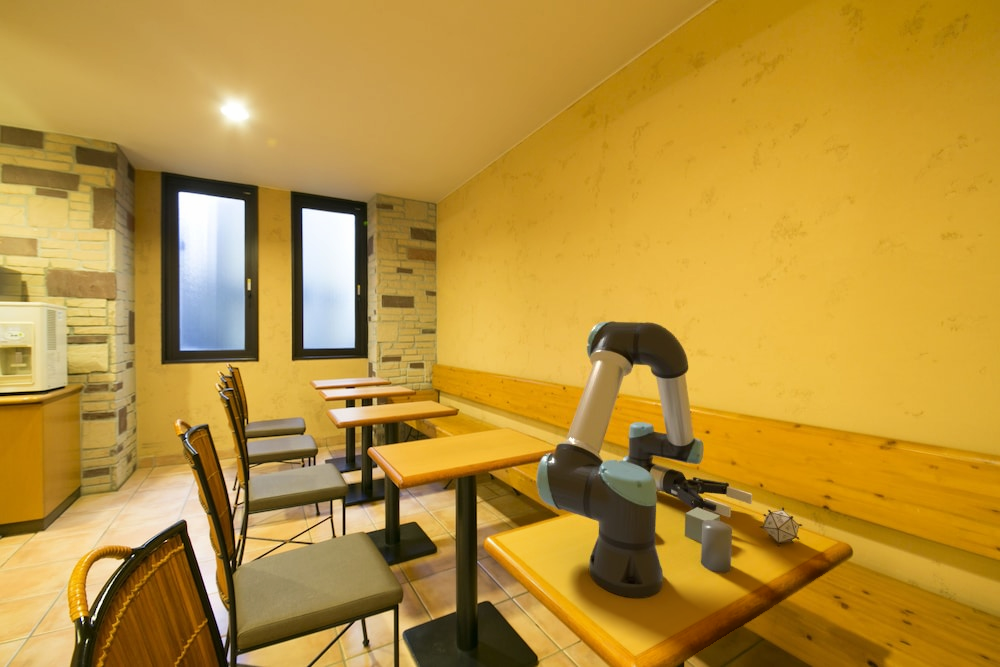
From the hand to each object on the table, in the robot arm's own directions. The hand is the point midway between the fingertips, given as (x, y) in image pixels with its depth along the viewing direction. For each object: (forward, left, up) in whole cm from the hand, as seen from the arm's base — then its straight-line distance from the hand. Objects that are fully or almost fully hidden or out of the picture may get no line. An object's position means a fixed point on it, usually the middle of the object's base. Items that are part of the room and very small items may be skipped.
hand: (741, 505), depth 114 cm
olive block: (-4, -14, -6) cm, 16 cm away
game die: (+9, 0, -6) cm, 11 cm away
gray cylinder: (+4, -24, -6) cm, 25 cm away
